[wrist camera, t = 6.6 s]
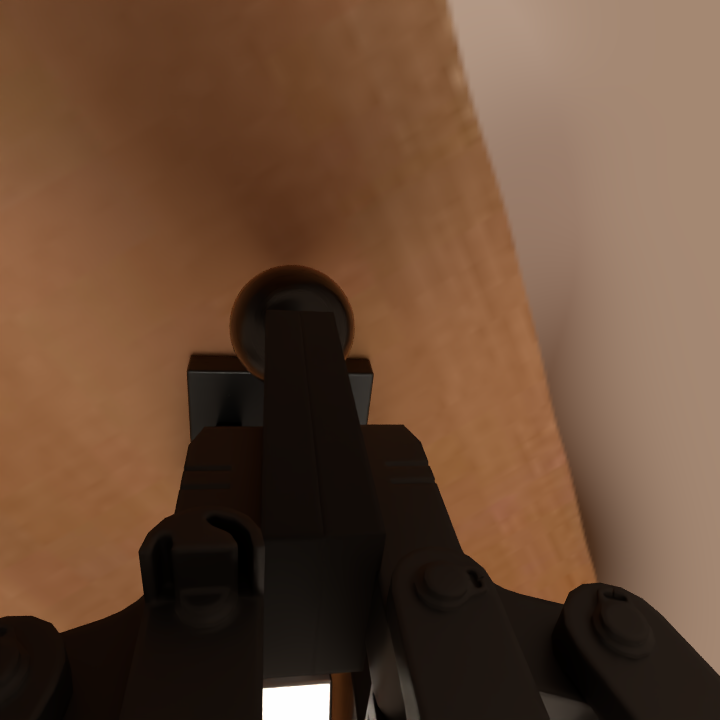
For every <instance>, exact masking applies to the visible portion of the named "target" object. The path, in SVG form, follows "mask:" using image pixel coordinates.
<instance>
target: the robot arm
mask: <svg viewBox="0 0 720 720" xmlns="http://www.w3.org/2000/svg"><path fill="white" fill-rule="evenodd" d="M139 559H140V567H141V575H142V583H143V591H144V595H143V596H142V597H141V598H140V599H139V600H138V601H136V602H134V603H133V604H131V605H130V606H128V607H127V608H125V609H124V610H122V611H120V612H118V613H116V614H113V615H111V616H108V617H106V618H104V619H101V620H98V621H95V622H92V623H89V624H86V625H83V626H80V627H77V628H74V629H71V630H68V631H65V632H62V633H59V632H58V631H57V630H56V628H55V627H54V626H53V624H52V623H49V622H47V621H44V620H41V619H39V618H36V617H34V616H6V617H2V618H0V720H263V679H268V678H281V677H294V676H308V675H321V674H334V673H347V672H360V671H363V670H364V664H365V658H366V652H367V657H368V663H369V669H370V676H371V682H372V684H371V690H370V695H369V701H368V706H367V712H366V717H365V720H720V676H719V675H718V674H717V673H716V672H715V671H714V669H713V668H712V667H711V666H710V665H709V664H708V663H707V662H706V661H705V660H704V659H703V658H702V657H701V656H700V655H699V654H698V653H697V652H696V651H695V649H694V648H693V647H692V646H691V645H690V644H689V643H688V642H687V641H686V640H685V639H684V638H683V637H682V636H681V635H680V634H679V633H678V632H677V631H676V629H675V628H674V627H673V626H672V625H671V624H670V623H669V622H668V621H667V620H666V619H665V618H664V617H663V616H662V615H661V614H660V613H659V612H658V611H657V610H655V609H654V608H653V607H652V606H651V605H649V604H648V603H647V602H646V601H645V600H643V599H642V598H640V597H638V596H636V595H634V594H633V593H631V592H629V591H627V590H625V589H623V588H621V587H616V586H612V585H608V584H603V583H591V584H582V585H580V586H579V587H577V588H575V589H574V590H572V591H571V592H569V594H568V596H567V599H566V601H565V603H564V604H560V603H556V602H551V601H547V600H543V599H539V598H535V597H530V596H526V595H522V594H519V593H516V592H513V591H510V590H507V589H504V588H502V587H500V586H498V585H496V584H495V583H493V582H492V580H491V578H490V577H489V575H488V574H487V572H486V571H485V569H484V568H483V567H482V566H480V565H479V564H478V563H477V562H475V561H474V560H473V559H472V558H470V557H469V556H467V555H465V554H464V553H463V551H462V549H461V547H460V544H459V541H458V539H457V536H456V533H455V531H454V528H453V526H452V523H451V520H450V518H449V515H448V512H447V510H446V507H445V505H444V502H443V499H442V497H441V494H440V491H439V489H438V486H437V484H436V483H435V478H434V476H433V473H432V470H431V468H430V466H428V460H427V457H426V455H425V452H424V449H423V447H422V444H421V442H420V441H419V440H418V439H417V438H416V437H415V436H414V435H413V434H412V433H411V432H410V431H409V430H408V429H407V428H406V427H405V426H404V425H360V421H359V417H358V413H357V409H356V404H355V400H354V396H353V392H352V388H351V383H350V379H349V375H348V371H347V367H346V362H345V358H344V354H343V350H342V346H341V341H340V337H339V333H338V329H337V325H336V320H335V316H334V312H317V311H289V310H266V320H265V368H264V415H263V426H205V427H204V428H203V429H202V431H201V432H200V433H199V434H198V435H197V436H196V437H195V438H194V440H193V441H192V442H191V443H190V444H189V446H188V451H187V456H186V461H185V465H184V471H183V475H182V480H181V485H180V490H179V494H178V499H177V504H176V509H175V513H174V514H173V515H171V516H169V517H167V518H165V519H164V520H162V521H161V522H160V523H159V524H158V525H157V526H155V527H154V528H153V529H152V530H151V531H150V532H149V533H148V534H147V536H146V538H145V540H144V542H143V544H142V545H141V547H140V549H139Z"/></svg>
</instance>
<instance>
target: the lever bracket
mask: <svg viewBox="0 0 720 720" xmlns="http://www.w3.org/2000/svg"><path fill="white" fill-rule="evenodd" d="M345 362H346V367H347V371H348V375H349V379H350V383H351V388H352V392H353V396H354V400H355V404H356V409H357V413H358V417H359V421H360V425H367V422H368V414H369V407H370V399H371V391H372V384H373V376H374V374H373V371H372V368H371V364H370V361H369V360H365V359H346V360H345ZM187 385H188V403H189V421H190V439H191V442H192V441H193V440H194V438H195V437H196V436H197V435H198V434H199V433H200V432H201V431H202V429H203V428H204V427H205V426H263V415H264V382H262V381H260V380H259V379H257V378H256V377H254V376H253V375H252V374H251V373H250V372H248V371H247V369H246V368H245V367H244V366H243V365H242V364H241V362H240V360H239V359H238V357H225V356H191V357H190V361H189V365H188V369H187ZM331 677H332V720H365V717H366V712H367V706H368V701H369V695H370V690H371V684H372V682H371V676H370V669H369V663H368V657H367V652H366V658H365V664H364V670H363V671H360V672H347V673H334V674H331Z"/></svg>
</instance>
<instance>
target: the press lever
mask: <svg viewBox="0 0 720 720" xmlns="http://www.w3.org/2000/svg"><path fill="white" fill-rule="evenodd" d="M266 310H289V311H317V312H334V316H335V320H336V325H337V329H338V333H339V337H340V341H341V346H342V350H343V354H344V358H345V360H346V358H347V356H348V354H349V352H350V350H351V347H352V344H353V339H354V331H355V325H354V316H353V312H352V308H351V305H350V303H349V301H348V299H347V297H346V295H345V294H344V292H343V291H342V289H341V288H340V287H339V286H338V285H337V284H336V283H335V282H334V281H333V280H332V279H331V278H329V277H328V276H327V275H325V274H323V273H322V272H320V271H318V270H315V269H313V268H310V267H306V266H301V265H283V266H277V267H273V268H270V269H268V270H266V271H263V272H261V273H260V274H258V275H256V276H255V277H254V278H253V279H251V280H250V281H249V282H248V283H247V284H246V285H245V286H244V287H243V289H242V290H241V291H240V293H239V294H238V296H237V298H236V300H235V302H234V305H233V307H232V311H231V315H230V324H229V328H230V338H231V343H232V346H233V349H234V351H235V353H236V355H237V357H238V359H239V360H240V362H241V364H242V365H243V366H244V367H245V368H246V369H247V371H248V372H250V373H251V374H252V375H253V376H254V377H256V378H257V379H259V380H260V381H262V382H264V368H265V320H266ZM263 720H332V677H331V674H321V675H308V676H294V677H281V678H268V679H263Z"/></svg>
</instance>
